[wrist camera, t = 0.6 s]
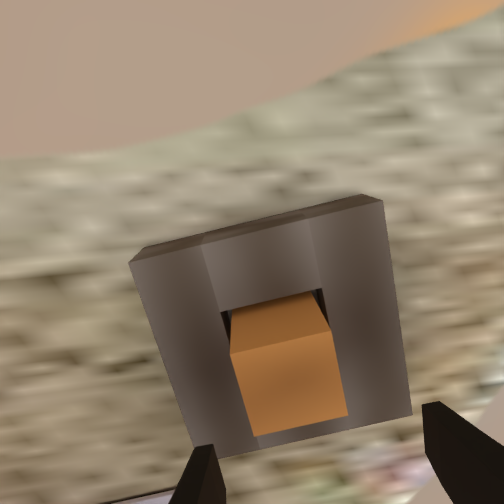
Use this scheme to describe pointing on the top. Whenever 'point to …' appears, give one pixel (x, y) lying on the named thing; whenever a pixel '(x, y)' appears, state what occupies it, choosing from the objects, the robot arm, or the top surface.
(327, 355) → the orange block
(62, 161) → the top surface
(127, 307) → the top surface
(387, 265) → the pocket holder
